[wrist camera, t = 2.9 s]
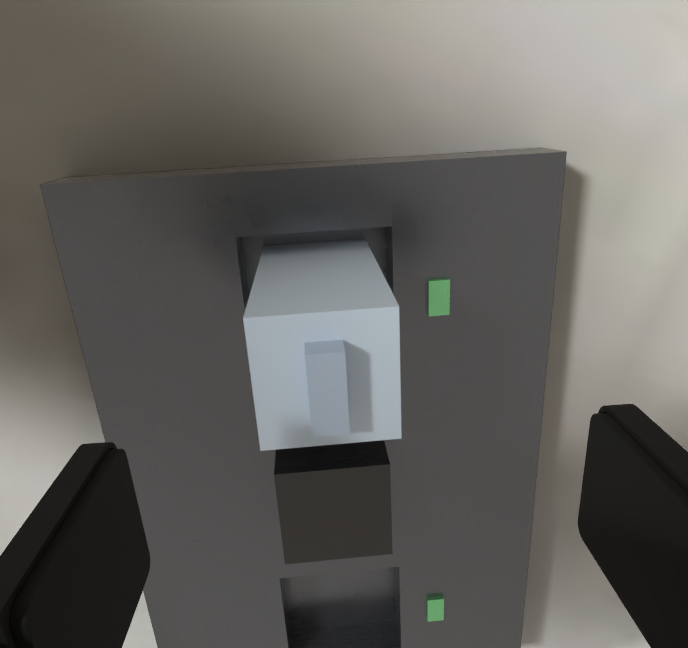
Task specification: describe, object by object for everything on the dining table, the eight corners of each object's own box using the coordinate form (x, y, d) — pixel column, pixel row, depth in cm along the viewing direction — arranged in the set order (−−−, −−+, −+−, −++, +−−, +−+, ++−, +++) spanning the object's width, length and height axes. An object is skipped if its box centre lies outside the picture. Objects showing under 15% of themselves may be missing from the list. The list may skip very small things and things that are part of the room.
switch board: (66, 177, 20) (6, 193, 16) (540, 147, 21) (598, 156, 17) (181, 665, 30) (162, 753, 26) (503, 631, 31) (535, 711, 26)
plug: (263, 246, 21) (239, 330, 13) (365, 238, 21) (404, 317, 13) (274, 339, 23) (258, 468, 14) (368, 332, 23) (406, 455, 15)
